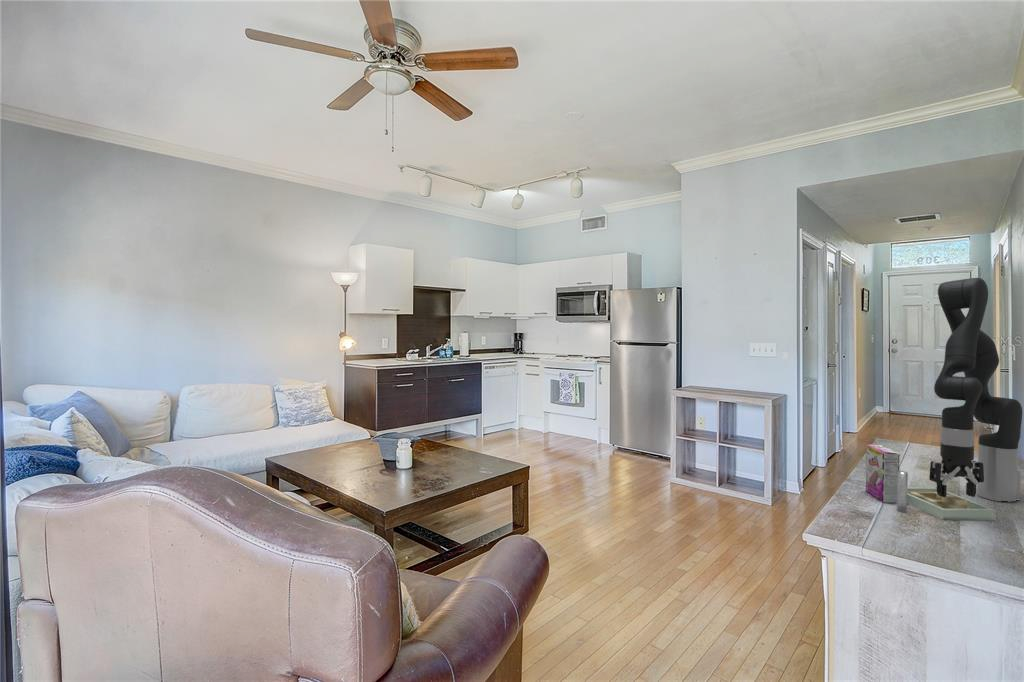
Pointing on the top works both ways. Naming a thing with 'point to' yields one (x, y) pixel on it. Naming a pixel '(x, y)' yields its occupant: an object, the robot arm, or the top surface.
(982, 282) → the robot arm
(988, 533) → the top surface
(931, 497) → the wooden frame with handle
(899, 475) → the steel post
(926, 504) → the tray
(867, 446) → the candy bar box
